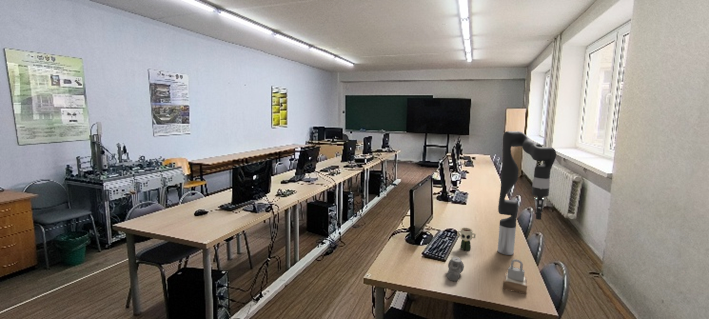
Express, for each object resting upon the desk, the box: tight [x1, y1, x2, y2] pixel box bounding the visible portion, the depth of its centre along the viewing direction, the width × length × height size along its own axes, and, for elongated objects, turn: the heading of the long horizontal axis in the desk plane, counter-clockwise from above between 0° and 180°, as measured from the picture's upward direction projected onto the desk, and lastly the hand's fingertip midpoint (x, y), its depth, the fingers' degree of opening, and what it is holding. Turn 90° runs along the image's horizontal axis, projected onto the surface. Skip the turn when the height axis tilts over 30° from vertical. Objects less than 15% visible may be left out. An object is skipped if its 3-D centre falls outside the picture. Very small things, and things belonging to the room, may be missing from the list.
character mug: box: [456, 227, 476, 251], centre depth 208 cm, size 11×7×13 cm, turn 66°
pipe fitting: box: [446, 256, 465, 282], centre depth 173 cm, size 12×8×10 cm, turn 153°
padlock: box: [507, 258, 526, 281], centre depth 163 cm, size 7×4×10 cm, turn 57°
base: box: [503, 272, 528, 295], centre depth 164 cm, size 10×10×4 cm
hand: (537, 216), depth 169 cm, fingers open, 8 cm apart
